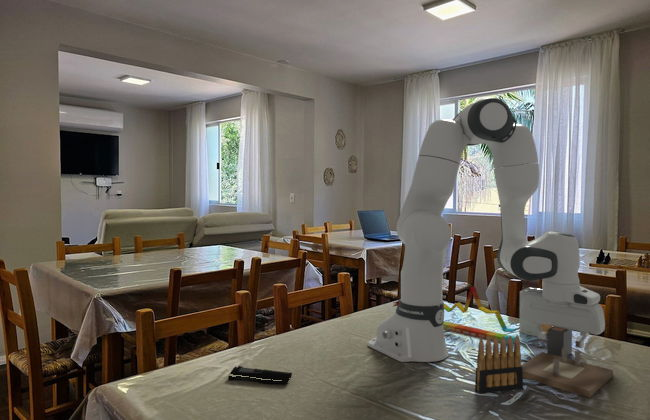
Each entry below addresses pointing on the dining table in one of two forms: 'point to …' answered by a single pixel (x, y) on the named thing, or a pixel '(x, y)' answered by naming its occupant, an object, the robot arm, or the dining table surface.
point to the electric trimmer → (260, 375)
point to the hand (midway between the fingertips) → (560, 343)
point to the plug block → (559, 341)
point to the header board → (566, 373)
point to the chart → (476, 331)
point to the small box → (530, 324)
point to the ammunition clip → (499, 366)
